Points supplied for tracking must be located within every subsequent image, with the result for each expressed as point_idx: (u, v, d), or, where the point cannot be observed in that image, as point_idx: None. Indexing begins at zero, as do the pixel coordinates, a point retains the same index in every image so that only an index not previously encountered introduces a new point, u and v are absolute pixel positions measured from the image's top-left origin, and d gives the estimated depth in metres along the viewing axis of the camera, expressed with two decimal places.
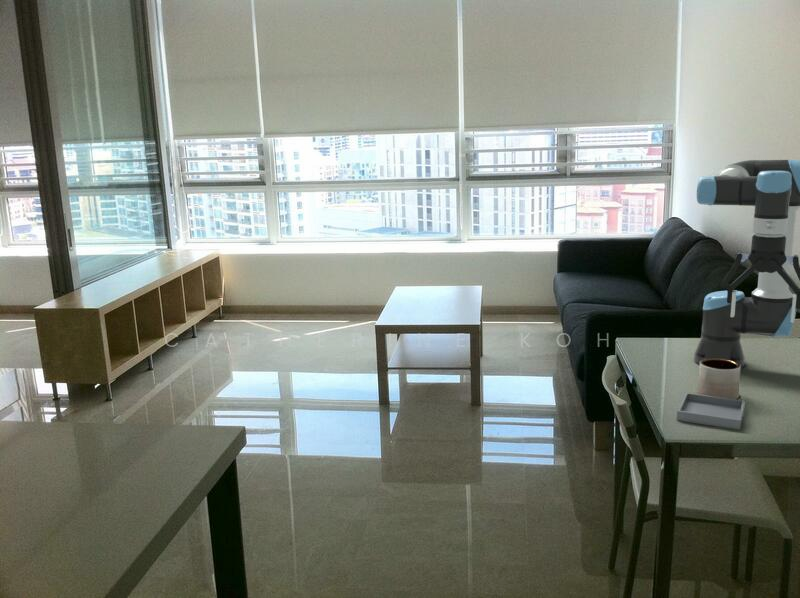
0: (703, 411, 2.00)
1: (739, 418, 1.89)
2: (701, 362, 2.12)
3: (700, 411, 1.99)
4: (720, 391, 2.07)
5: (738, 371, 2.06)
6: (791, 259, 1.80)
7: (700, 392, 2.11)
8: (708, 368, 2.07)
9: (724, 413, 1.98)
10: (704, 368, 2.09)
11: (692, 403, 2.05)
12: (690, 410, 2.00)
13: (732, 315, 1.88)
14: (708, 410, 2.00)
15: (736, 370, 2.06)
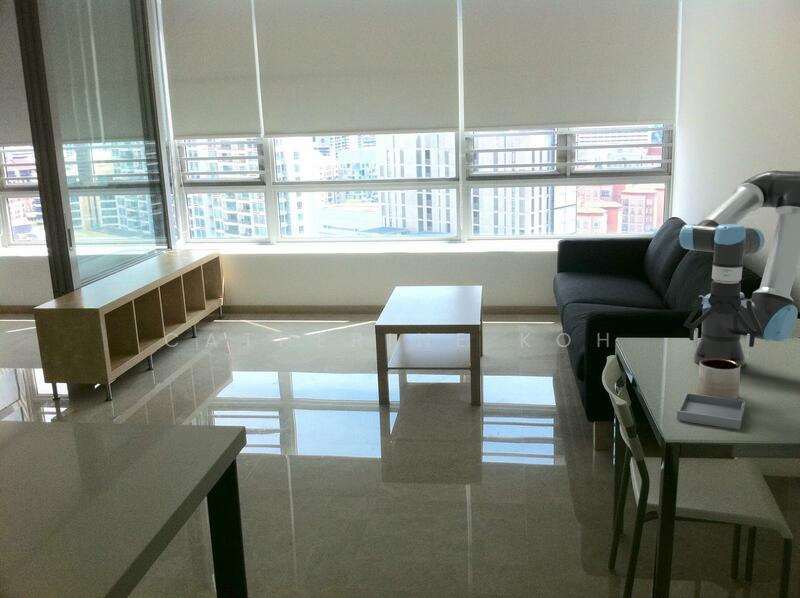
0: (703, 411, 2.00)
1: (739, 418, 1.89)
2: (701, 362, 2.12)
3: (700, 411, 1.99)
4: (720, 391, 2.07)
5: (738, 371, 2.06)
6: (745, 303, 2.03)
7: (700, 392, 2.11)
8: (708, 368, 2.07)
9: (724, 413, 1.98)
10: (704, 368, 2.09)
11: (692, 403, 2.05)
12: (690, 410, 2.00)
13: (694, 351, 2.11)
14: (708, 410, 2.00)
15: (736, 370, 2.06)
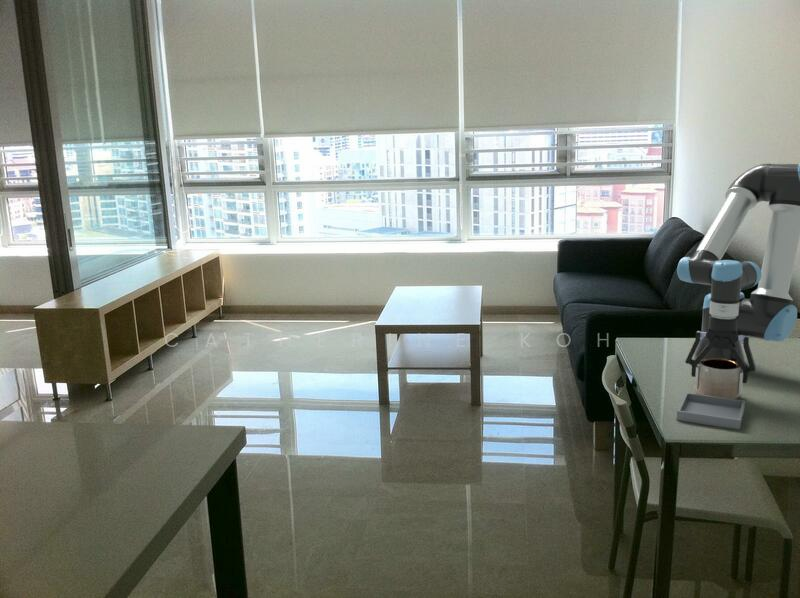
0: (703, 411, 2.00)
1: (739, 418, 1.89)
2: (701, 362, 2.12)
3: (700, 411, 1.99)
4: (720, 391, 2.07)
5: (738, 371, 2.06)
6: (742, 339, 2.05)
7: (700, 392, 2.11)
8: (708, 368, 2.07)
9: (724, 413, 1.98)
10: (704, 368, 2.09)
11: (692, 403, 2.05)
12: (690, 410, 2.00)
13: (696, 387, 2.13)
14: (708, 410, 2.00)
15: (736, 370, 2.06)
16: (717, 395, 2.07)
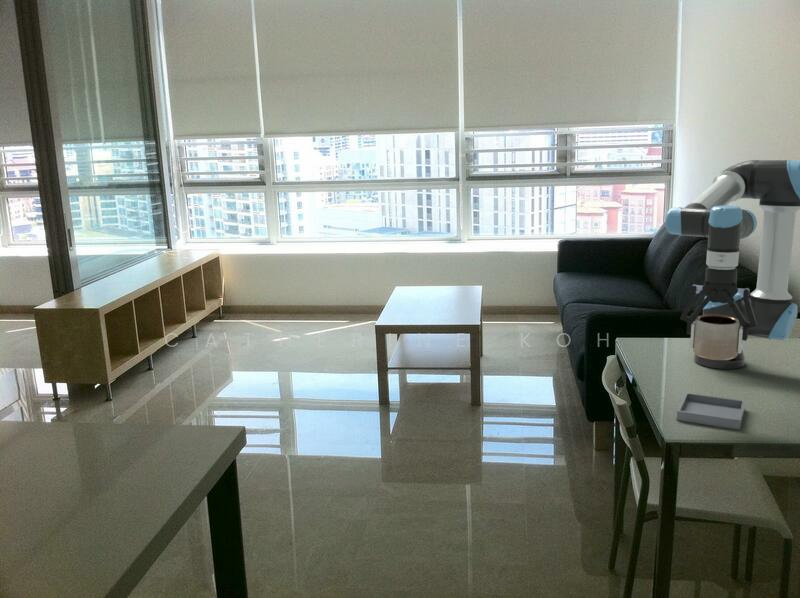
0: (703, 411, 2.00)
1: (739, 418, 1.89)
2: (697, 318, 1.94)
3: (700, 411, 1.99)
4: (717, 348, 1.89)
5: (737, 327, 1.89)
6: (742, 291, 1.88)
7: (696, 351, 1.94)
8: (704, 323, 1.90)
9: (724, 413, 1.98)
10: (700, 324, 1.91)
11: (692, 403, 2.05)
12: (690, 410, 2.00)
13: (691, 346, 1.96)
14: (708, 410, 2.00)
15: (735, 325, 1.88)
16: (714, 353, 1.90)
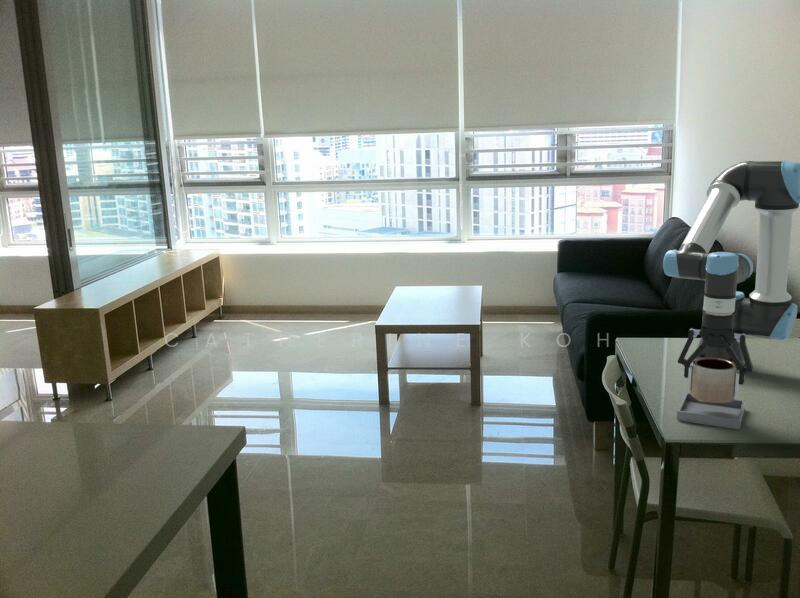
0: (703, 411, 2.00)
1: (739, 418, 1.89)
2: (694, 362, 1.97)
3: (700, 411, 1.99)
4: (714, 393, 1.92)
5: (734, 371, 1.92)
6: (738, 337, 1.91)
7: (693, 394, 1.96)
8: (702, 368, 1.93)
9: (724, 413, 1.98)
10: (698, 368, 1.94)
11: (692, 403, 2.05)
12: (690, 410, 2.00)
13: (689, 389, 1.99)
14: (708, 410, 2.00)
15: (732, 370, 1.91)
16: (711, 397, 1.92)
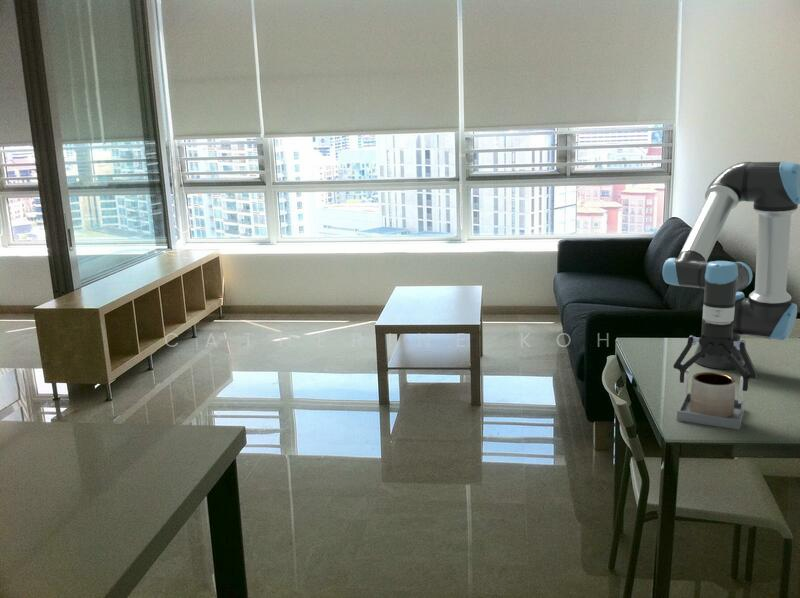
0: None
1: (739, 418, 1.89)
2: (693, 377, 1.98)
3: None
4: (713, 408, 1.93)
5: (733, 387, 1.93)
6: (738, 344, 1.91)
7: (692, 409, 1.97)
8: (701, 383, 1.94)
9: None
10: (697, 383, 1.95)
11: None
12: (690, 410, 2.00)
13: (684, 394, 1.99)
14: None
15: (731, 386, 1.92)
16: (710, 412, 1.93)
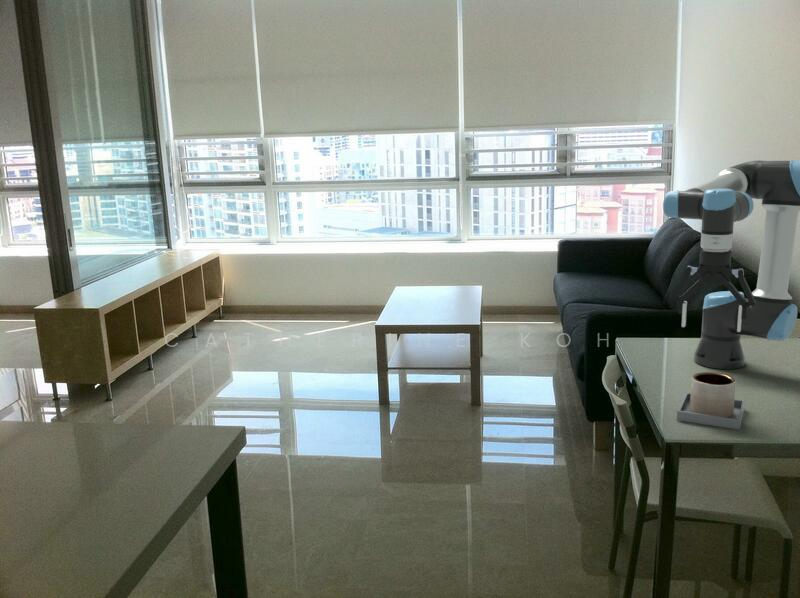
0: None
1: (739, 418, 1.89)
2: (693, 377, 1.98)
3: None
4: (713, 408, 1.93)
5: (733, 387, 1.93)
6: (736, 272, 1.90)
7: (692, 409, 1.97)
8: (701, 383, 1.94)
9: None
10: (697, 383, 1.95)
11: None
12: (690, 410, 2.00)
13: (683, 325, 1.98)
14: None
15: (731, 386, 1.92)
16: (710, 412, 1.93)
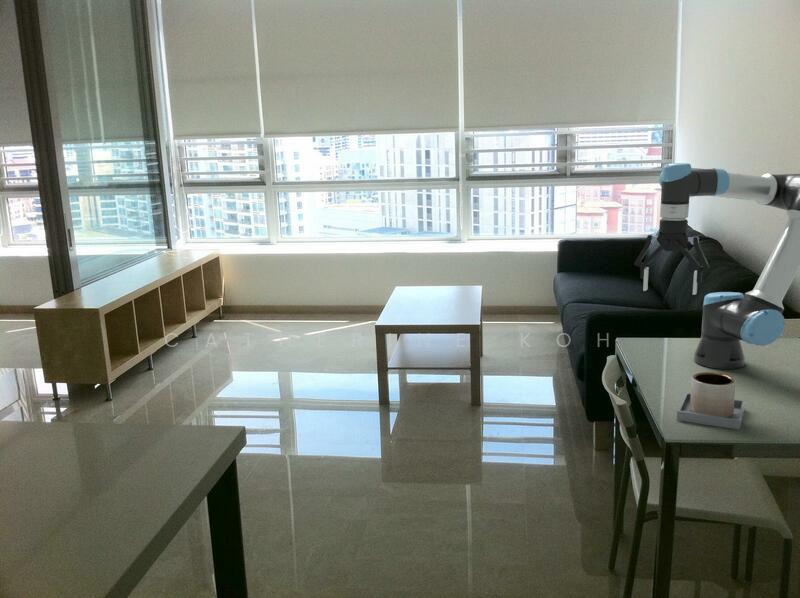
0: None
1: (739, 418, 1.89)
2: (693, 377, 1.98)
3: None
4: (713, 408, 1.93)
5: (733, 387, 1.93)
6: (692, 239, 2.08)
7: (692, 409, 1.97)
8: (701, 383, 1.94)
9: None
10: (697, 383, 1.95)
11: None
12: (690, 410, 2.00)
13: (644, 289, 2.16)
14: None
15: (731, 386, 1.92)
16: (710, 412, 1.93)
